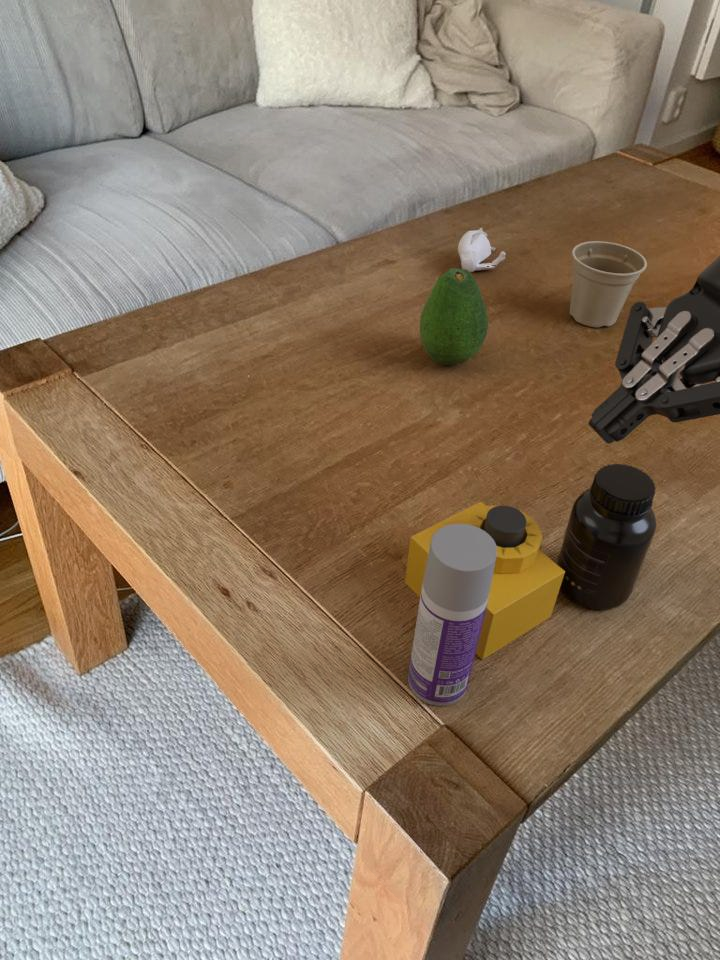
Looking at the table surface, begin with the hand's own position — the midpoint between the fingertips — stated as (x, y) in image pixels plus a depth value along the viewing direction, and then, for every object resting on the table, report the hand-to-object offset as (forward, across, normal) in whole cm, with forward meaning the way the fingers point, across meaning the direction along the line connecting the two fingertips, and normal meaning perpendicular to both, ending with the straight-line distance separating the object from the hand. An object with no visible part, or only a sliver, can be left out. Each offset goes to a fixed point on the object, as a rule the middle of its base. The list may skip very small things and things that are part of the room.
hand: (598, 434), depth 63 cm
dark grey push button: (+11, 0, +2) cm, 11 cm away
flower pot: (-10, -39, +32) cm, 52 cm away
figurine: (-4, -57, +27) cm, 63 cm away
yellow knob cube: (+17, 0, +6) cm, 18 cm away
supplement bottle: (+10, +2, +13) cm, 16 cm away
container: (+22, +7, +1) cm, 23 cm away
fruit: (+7, -35, +16) cm, 39 cm away
